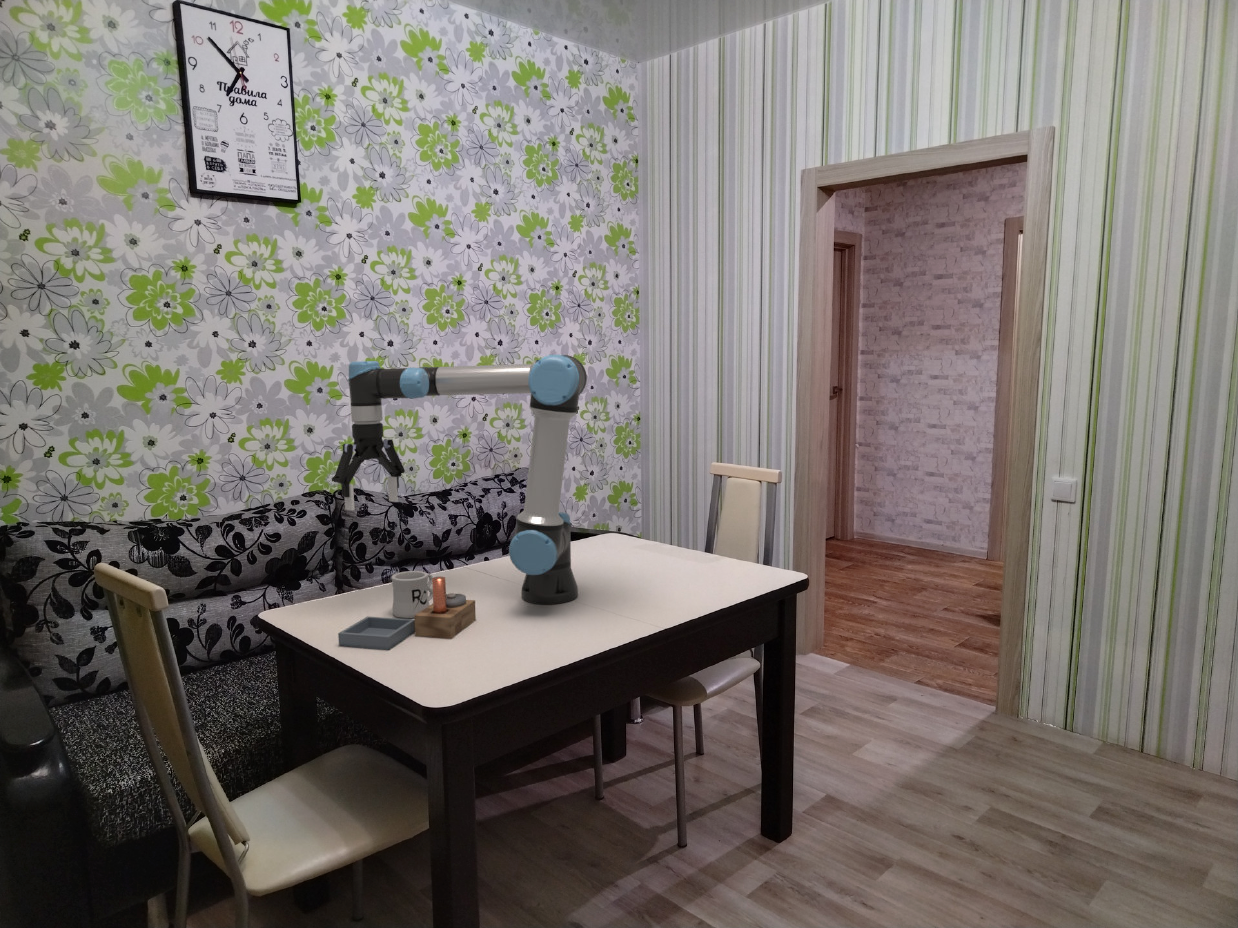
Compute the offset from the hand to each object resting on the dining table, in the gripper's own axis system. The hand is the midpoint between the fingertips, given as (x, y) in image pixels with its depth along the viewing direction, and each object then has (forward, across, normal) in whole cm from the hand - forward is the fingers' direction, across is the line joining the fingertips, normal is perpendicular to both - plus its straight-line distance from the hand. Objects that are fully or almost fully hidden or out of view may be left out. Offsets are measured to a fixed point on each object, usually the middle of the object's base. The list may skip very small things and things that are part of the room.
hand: (372, 505), depth 211 cm
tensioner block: (+27, +2, +28) cm, 39 cm away
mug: (+27, -2, +12) cm, 30 cm away
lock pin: (+27, +5, +29) cm, 40 cm away
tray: (+27, +16, +20) cm, 37 cm away
